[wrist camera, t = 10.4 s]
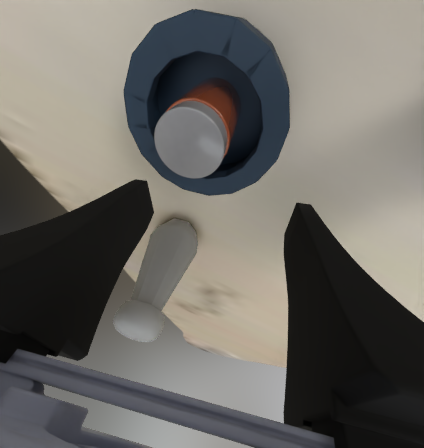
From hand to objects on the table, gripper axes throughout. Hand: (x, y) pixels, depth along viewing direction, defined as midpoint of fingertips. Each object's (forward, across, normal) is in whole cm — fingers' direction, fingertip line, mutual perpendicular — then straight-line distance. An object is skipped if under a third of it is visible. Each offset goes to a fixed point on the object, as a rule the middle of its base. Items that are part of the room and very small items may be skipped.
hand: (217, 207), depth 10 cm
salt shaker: (+10, +6, +13) cm, 18 cm away
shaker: (+9, +2, -2) cm, 10 cm away
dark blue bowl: (+10, +2, -2) cm, 10 cm away
